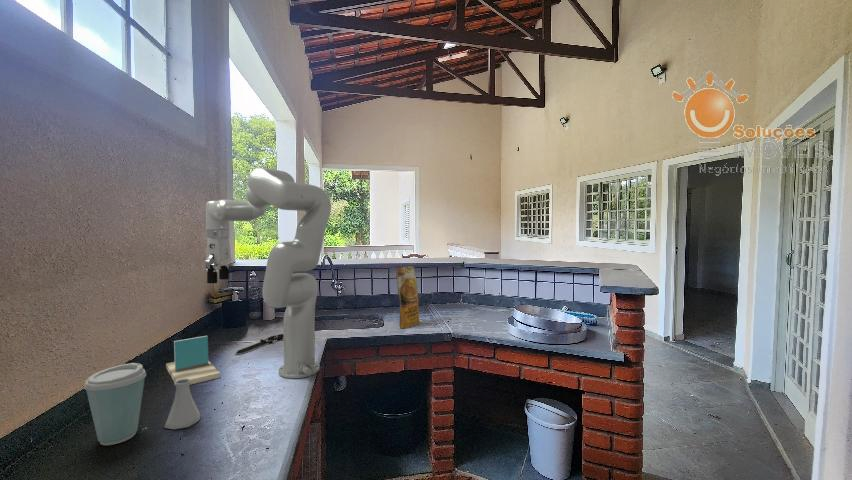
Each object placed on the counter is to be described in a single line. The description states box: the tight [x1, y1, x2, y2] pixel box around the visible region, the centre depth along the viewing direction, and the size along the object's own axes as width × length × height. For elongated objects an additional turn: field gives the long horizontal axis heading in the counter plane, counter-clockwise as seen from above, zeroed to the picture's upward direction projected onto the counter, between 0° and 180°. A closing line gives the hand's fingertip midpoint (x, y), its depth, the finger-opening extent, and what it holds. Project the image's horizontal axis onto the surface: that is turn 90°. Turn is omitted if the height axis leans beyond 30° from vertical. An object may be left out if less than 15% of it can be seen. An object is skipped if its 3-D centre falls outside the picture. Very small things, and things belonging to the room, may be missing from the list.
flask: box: [163, 378, 202, 430], centre depth 89 cm, size 7×7×10 cm
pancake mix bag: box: [395, 265, 421, 329], centre depth 179 cm, size 7×19×28 cm, turn 150°
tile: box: [173, 335, 210, 371], centre depth 119 cm, size 9×9×1 cm
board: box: [165, 361, 221, 386], centre depth 119 cm, size 20×11×2 cm, turn 42°
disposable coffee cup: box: [83, 362, 147, 446], centre depth 83 cm, size 11×11×15 cm
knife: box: [234, 333, 284, 356], centre depth 147 cm, size 25×6×1 cm, turn 154°
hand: (218, 281), depth 138 cm, fingers open, 9 cm apart
